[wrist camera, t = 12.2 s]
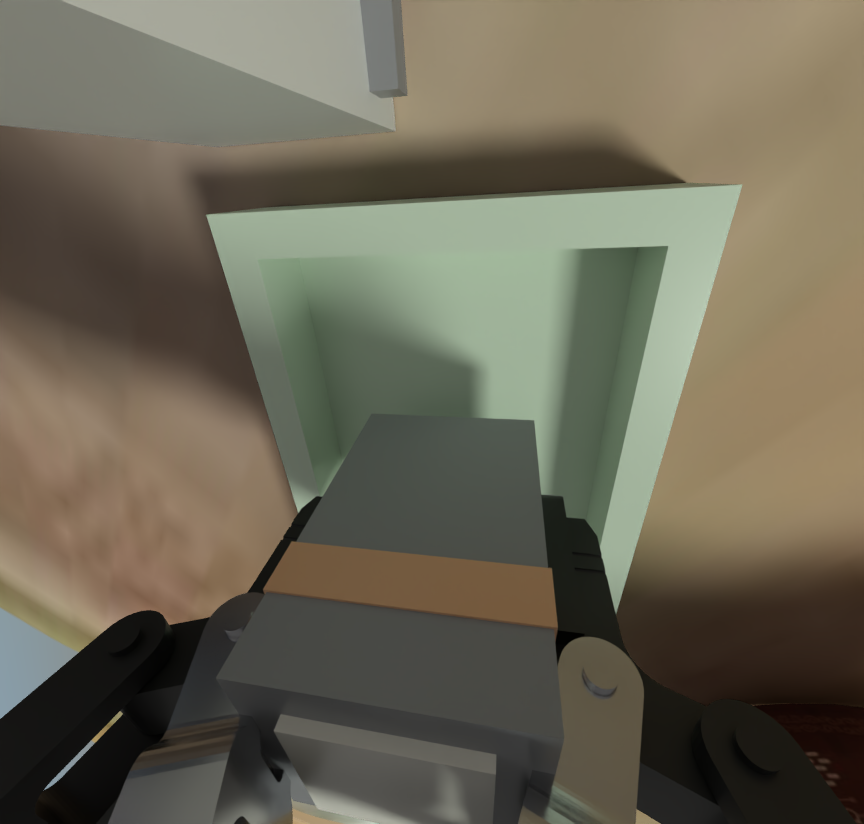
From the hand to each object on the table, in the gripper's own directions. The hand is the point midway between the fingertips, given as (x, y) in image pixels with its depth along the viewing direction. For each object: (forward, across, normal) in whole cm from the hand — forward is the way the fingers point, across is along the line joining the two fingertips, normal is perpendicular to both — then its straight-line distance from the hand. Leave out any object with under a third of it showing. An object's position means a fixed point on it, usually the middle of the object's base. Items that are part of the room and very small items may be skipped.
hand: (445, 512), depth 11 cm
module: (+1, 0, 0) cm, 1 cm away
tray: (+4, 0, 0) cm, 4 cm away
